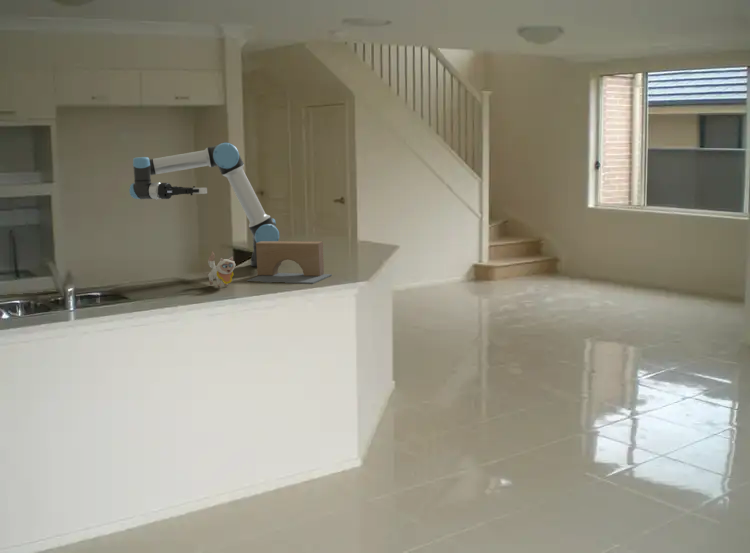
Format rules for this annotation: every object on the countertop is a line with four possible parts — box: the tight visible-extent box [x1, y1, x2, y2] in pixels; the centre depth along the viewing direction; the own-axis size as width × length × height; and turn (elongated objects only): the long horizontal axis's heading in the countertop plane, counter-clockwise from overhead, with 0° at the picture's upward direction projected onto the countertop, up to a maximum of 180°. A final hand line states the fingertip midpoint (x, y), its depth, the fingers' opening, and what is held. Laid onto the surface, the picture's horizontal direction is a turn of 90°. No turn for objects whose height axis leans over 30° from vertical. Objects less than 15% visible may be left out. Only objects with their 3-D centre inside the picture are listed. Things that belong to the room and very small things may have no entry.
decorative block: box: [256, 240, 325, 276], centre depth 409 cm, size 15×8×30 cm
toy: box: [207, 250, 236, 288], centre depth 385 cm, size 9×19×15 cm, turn 36°
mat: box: [246, 272, 333, 285], centre depth 403 cm, size 22×32×1 cm
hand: (206, 190), depth 406 cm, fingers closed
